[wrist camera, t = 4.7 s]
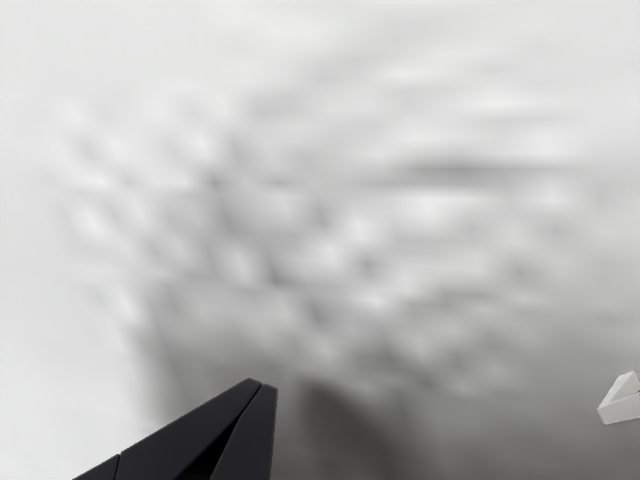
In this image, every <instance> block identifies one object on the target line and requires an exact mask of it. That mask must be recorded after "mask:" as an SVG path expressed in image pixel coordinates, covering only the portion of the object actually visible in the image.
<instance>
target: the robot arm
mask: <svg viewBox="0 0 640 480" xmlns="http://www.w3.org/2000/svg"><path fill="white" fill-rule="evenodd" d="M277 397H278V389H277V388H276V387H273V386H270V385H267V384H262V383H261V382H259V381H257V380H254V379H251V378H248V379H245V380H244V381H242V382H240V383H239V384H237V385H235V386H233V387H232V388H230V389H228V390H227V391H225V392H223V393H221V394H220V395H218V396H216V397H215V398H213V399H211V400H209V401H208V402H206V403H204V404H203V405H201V406H199V407H197V408H196V409H194V410H192V411H191V412H189V413H187V414H185V415H184V416H182V417H180V418H179V419H177V420H175V421H173V422H172V423H170V424H168V425H167V426H165V427H163V428H161V429H160V430H158V431H156V432H155V433H153V434H151V435H149V436H148V437H146V438H144V439H143V440H141V441H139V442H137V443H136V444H134V445H132V446H131V447H129V448H127V449H125V450H124V451H122V452H121V454H120V455H119V454H117V455H115V456H113V457H111V458H110V459H108V460H106V461H105V462H103V463H101V464H99V465H98V466H96V467H94V468H92V469H90V470H89V471H87V472H85V473H83V474H81V475H80V476H78V477H76V478H74V479H72V480H270V477H271V466H272V454H273V443H274V432H275V420H276V409H277Z"/></svg>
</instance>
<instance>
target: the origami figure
mask: <svg viewBox="0 0 640 480" xmlns="http://www.w3.org/2000/svg"><path fill="white" fill-rule="evenodd" d="M639 390H640V381H639V379H638V377H637V374H636V372H635V370H634V371H632V372H629V373H626V374H623V375H620V376H618V378H617V379H616V381H615V382H614V384H613V385H612V387H611V388H610V390H609V392H608V393H607V395H606V396H605V398H604V399H603V401H602V402H601V404H600V405H599V407H598V408H597V411H598V413H599V415H600V417H601V419H602V421H603V423H604V425H608V424H613V423H617V422H622V421H627V420H632V419H637V418H640V393H638V391H639Z"/></svg>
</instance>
